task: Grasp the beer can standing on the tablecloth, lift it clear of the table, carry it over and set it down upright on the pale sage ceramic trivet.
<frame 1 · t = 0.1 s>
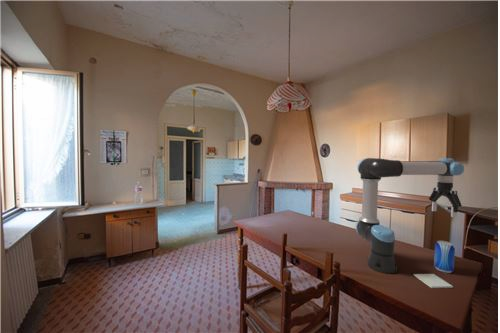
hand: (443, 213, 138), 28 cm above the table, fingers open, 13 cm apart
beer can: (443, 269, 122), on the table
trivet: (432, 281, 111), on the table
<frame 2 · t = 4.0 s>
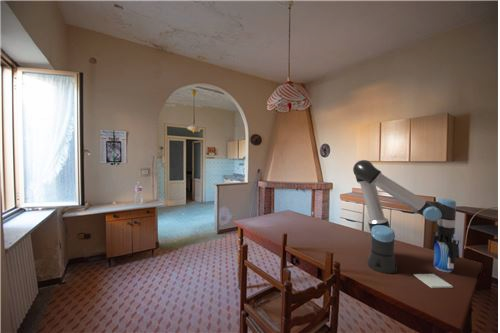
hand: (444, 264, 122), 3 cm above the table, fingers closed on beer can, 7 cm apart
beer can: (442, 269, 122), on the table, touching gripper
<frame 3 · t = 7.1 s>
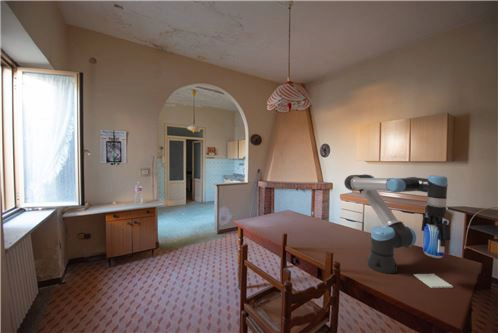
hand: (434, 248, 110), 18 cm above the table, fingers closed on beer can, 7 cm apart
beer can: (433, 255, 110), point 14 cm above the table, touching gripper
when the fingers open (5 cm above the table, at t = 10.0 s): beer can stays where it is, resting on trivet.
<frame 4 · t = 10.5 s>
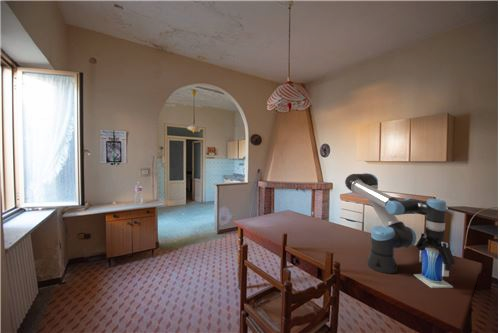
hand: (433, 268, 110), 7 cm above the table, fingers open, 13 cm apart
beer can: (431, 279, 111), point 1 cm above the table, touching trivet
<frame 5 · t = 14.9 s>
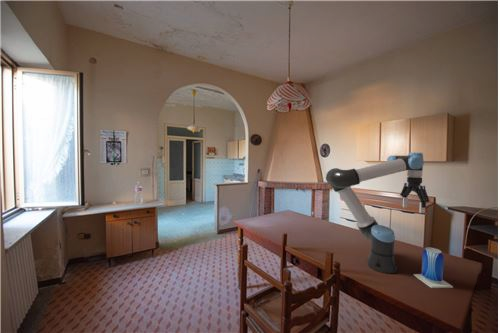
hand: (413, 209, 134), 32 cm above the table, fingers open, 13 cm apart
nothing on the table moved.
at the end: beer can inside the target area on the trivet (0.6 cm from its centre), point 0.6 cm above the trivet's base; beer can tilted 0°; the gripper is holding nothing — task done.
